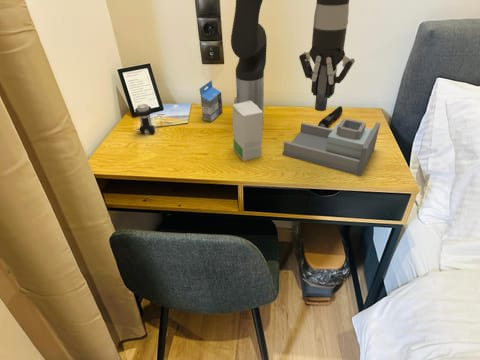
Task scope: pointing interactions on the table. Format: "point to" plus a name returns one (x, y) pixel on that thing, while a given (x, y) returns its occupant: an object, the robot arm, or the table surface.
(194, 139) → the table surface
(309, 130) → the bay
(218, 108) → the label tape cartridge
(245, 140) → the skincare box
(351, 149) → the square socket block
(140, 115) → the grey black upright piece
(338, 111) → the electric trimmer
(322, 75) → the handle peg
